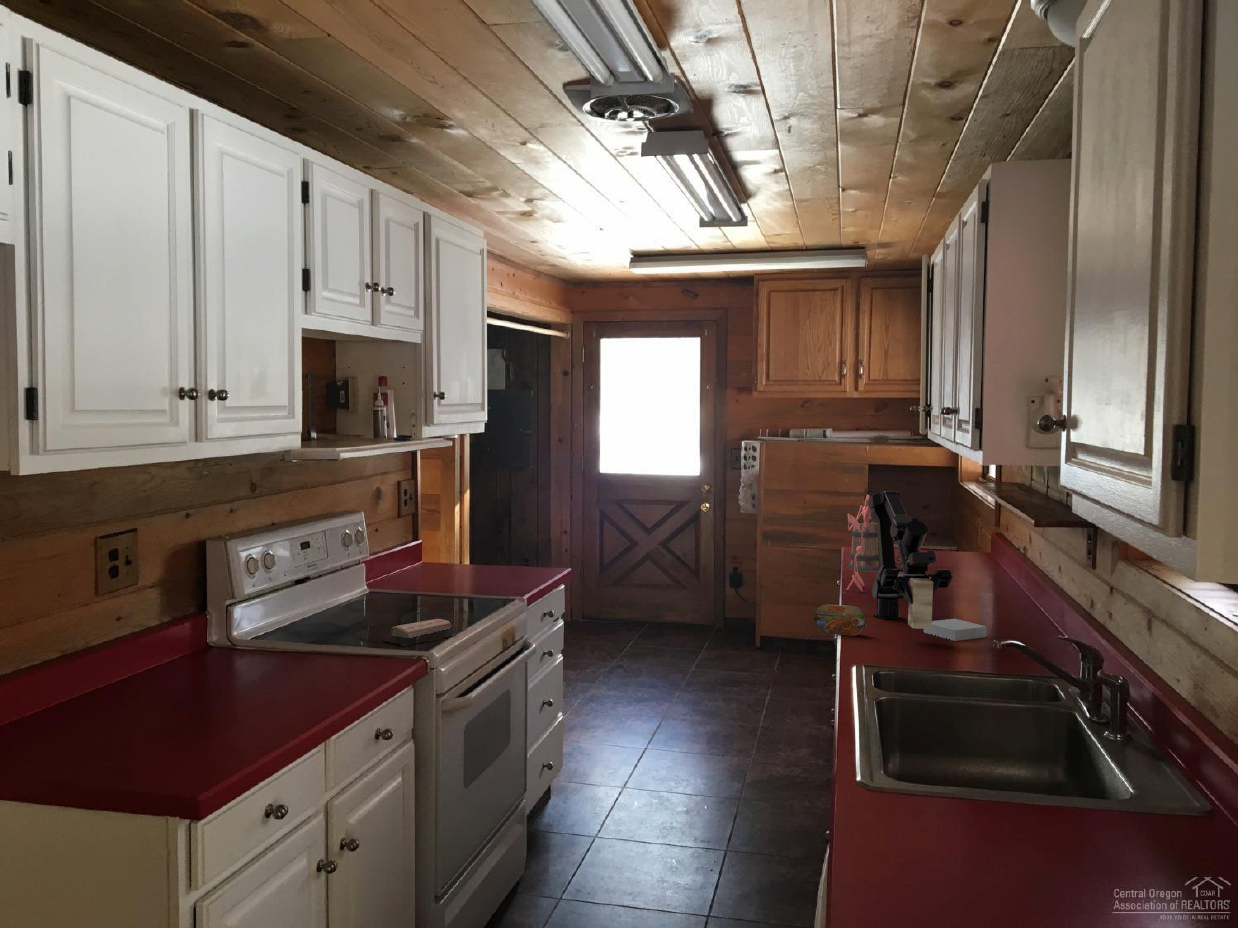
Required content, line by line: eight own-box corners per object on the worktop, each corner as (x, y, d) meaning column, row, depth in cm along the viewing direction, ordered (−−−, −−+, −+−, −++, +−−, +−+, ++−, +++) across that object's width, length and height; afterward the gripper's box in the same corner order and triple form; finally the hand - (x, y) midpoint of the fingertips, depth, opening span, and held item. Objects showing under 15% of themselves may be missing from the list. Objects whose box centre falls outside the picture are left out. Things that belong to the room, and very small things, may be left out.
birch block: (907, 624, 265) (909, 578, 264) (926, 624, 264) (927, 578, 264) (912, 628, 260) (914, 581, 259) (931, 628, 259) (933, 581, 259)
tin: (813, 632, 275) (813, 603, 274) (816, 630, 278) (816, 601, 277) (865, 637, 268) (865, 608, 268) (867, 635, 271) (868, 606, 270)
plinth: (923, 632, 275) (923, 622, 274) (954, 628, 280) (954, 618, 280) (954, 640, 264) (955, 630, 264) (986, 636, 269) (986, 626, 269)
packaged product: (435, 615, 275) (457, 620, 268) (435, 632, 275) (457, 637, 268) (382, 625, 261) (404, 630, 254) (382, 642, 261) (404, 648, 255)
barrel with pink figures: (840, 594, 334) (844, 496, 333) (849, 583, 359) (852, 491, 357) (885, 598, 329) (889, 498, 328) (891, 587, 353) (895, 493, 352)
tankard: (844, 572, 387) (845, 523, 386) (845, 566, 403) (846, 519, 402) (904, 574, 381) (905, 525, 380) (903, 568, 397) (904, 521, 396)
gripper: (883, 540, 265) (893, 586, 255) (951, 540, 265) (963, 586, 254) (876, 563, 273) (885, 609, 263) (941, 564, 273) (953, 610, 262)
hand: (921, 603), depth 260 cm, fingers closed on birch block, 5 cm apart
